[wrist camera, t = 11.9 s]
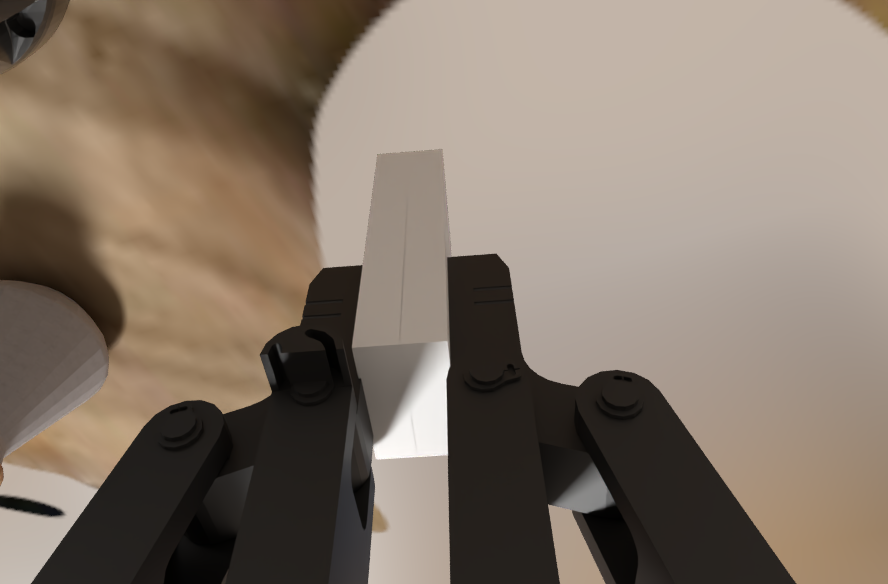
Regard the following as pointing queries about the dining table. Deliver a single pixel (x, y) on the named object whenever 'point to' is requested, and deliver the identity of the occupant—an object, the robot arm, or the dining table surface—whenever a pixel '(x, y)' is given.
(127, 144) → the dining table surface
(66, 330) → the coffee pot
